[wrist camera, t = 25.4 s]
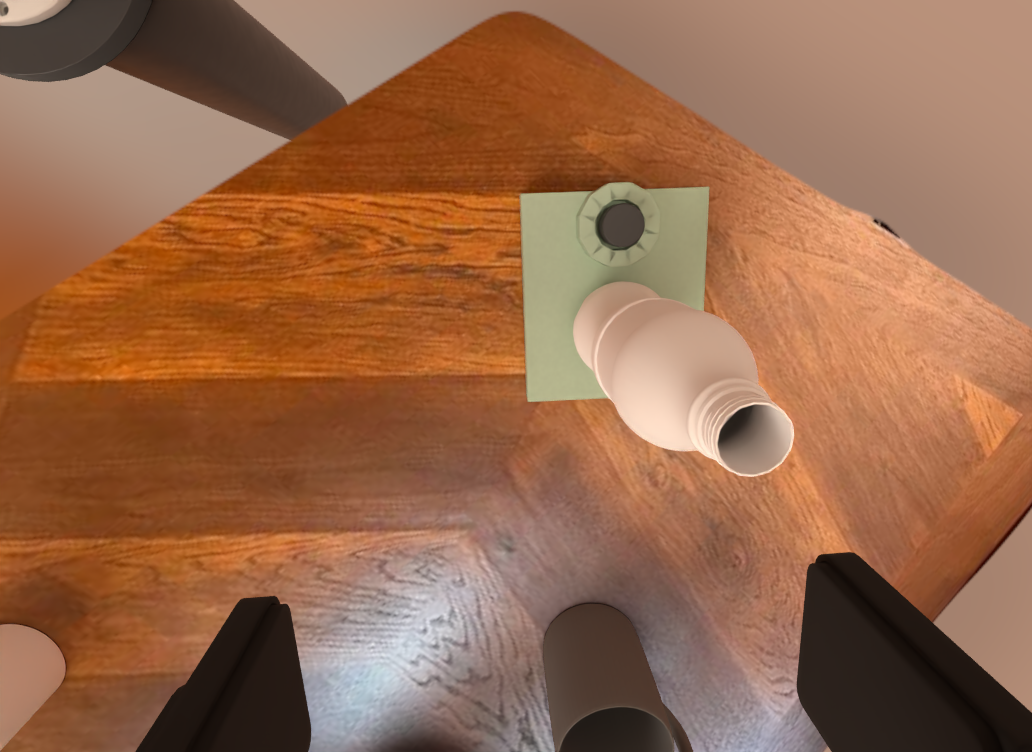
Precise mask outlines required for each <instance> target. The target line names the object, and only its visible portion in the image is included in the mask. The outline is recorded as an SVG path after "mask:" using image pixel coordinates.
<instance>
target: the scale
mask: <svg viewBox="0 0 1032 752" xmlns="http://www.w3.org/2000/svg"><path fill="white" fill-rule="evenodd" d="M621 203H628V204H632V205H634V206H635V207H637V208H638V209H639V210H640V211H641V213H642V215H643V217H644V223H645V225H644V231H643V234H642V236H641V237H640V239H639V240H638V241H637V242H636V243H634V244H633V245H631V246H628V247H617V246H612V245H610V244H608V243H607V242H605V241H604V239H603V238H602V237H601V235H600V232H599V220H600V217H601V215H602V214H603V212H604V211H605V210H606V209H607V208H608V207H610V206H612V205H615V204H621ZM708 206H709V187H686V188H659V189H643V188H641V187H639V186H637V185H636V184H634V183H632V182H616V183H608V184H604V185H603V186H601V187H600V188H598V189H597V190H595V191H578V192H551V193H525V194H520V224H521V254H522V283H523V312H524V342H525V371H526V396H527V401H528V402H537V401H558V400H578V399H599V398H608V397H607V395H606V394H605V393H604V392H603V390H602V388H601V387H600V385H599V383H598V381H597V379H596V377H595V374H594V371H593V370H591V369H590V368H589V367H588V366H587V365H586V364H585V363H584V361H583V360H582V359H581V357H580V355H579V354H578V351H577V349H576V346H575V342H574V337H573V324H574V319H575V317H576V315H577V313H578V311H579V309H580V307H581V305H582V303H583V301H584V300H585V298H586V297H587V296H588V295H589V294H591V293H592V292H593V291H595V290H596V289H598V288H600V287H602V286H604V285H606V284H610V283H613V282H621V281H624V282H634V283H638V284H641V285H644V286H646V287H648V288H650V289H651V290H653V291H654V292H655V293H656V294H658V295H659V297H660V298H666V299H672V300H675V301H679V302H681V303H684V304H686V305H688V306H690V307H692V308H693V309H695V310H700V311H704V293H705V272H706V250H707V228H708Z"/></svg>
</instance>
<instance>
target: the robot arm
mask: <svg viewBox="0 0 1032 752" xmlns="http://www.w3.org/2000/svg"><path fill="white" fill-rule="evenodd" d="M71 1H72V0H0V26H24V25H30V24H35V23H39V22H41V21H43V20H46V19H48V18H50V17H52V16H54V15H56V14H57V13H58V12H60V11H61V10H62V9H64V8H65V7H66V6H67V5H68V4H69V3H70V2H71ZM797 692H798V696H799V699H800V702H801V704H802V706H803V708H804V710H805V711H806V713H807V714H808V716H809V717H810V719H811V721H812V722H813V724H814V725H815V727H816V728H817V730H818V731H819V733H820V734H821V736H822V737H823V739H824V741H825V742H826V744H827V745H828V747H829V748H830V750H831V751H832V752H1032V713H1031V712H1030V711H1029V710H1028V709H1027V708H1026V707H1025V706H1024V705H1022V704H1021V703H1020V702H1019V701H1018V700H1017V699H1016V698H1015V697H1014V696H1013V695H1011V694H1010V693H1009V692H1008V691H1007V690H1006V689H1005V688H1004V687H1003V686H1001V685H1000V684H999V683H998V682H997V681H996V680H995V679H994V678H993V677H992V676H991V675H989V674H988V673H987V672H986V671H985V670H984V669H983V668H982V667H981V666H979V665H978V664H977V663H976V662H975V661H974V660H973V659H972V658H971V657H970V656H968V655H967V654H966V653H965V652H964V651H963V650H962V649H961V648H960V647H958V646H957V645H956V644H955V643H954V642H953V641H952V640H951V639H950V638H949V637H947V636H946V635H945V634H944V633H943V632H942V631H941V630H940V629H939V628H938V627H936V626H935V625H934V624H933V623H932V622H931V621H930V620H929V619H928V618H927V617H925V616H924V615H923V614H922V613H921V612H920V611H919V610H918V609H917V608H916V607H914V606H913V605H912V604H911V603H910V602H909V601H908V600H907V599H906V598H904V597H903V596H902V595H901V594H900V593H899V592H898V591H897V590H896V589H895V588H893V587H892V586H891V585H890V584H889V583H888V582H887V581H886V580H885V579H884V578H882V577H881V576H880V575H879V574H878V573H877V572H876V571H875V570H874V569H873V568H871V567H870V566H869V565H868V564H867V563H866V562H865V561H864V560H863V559H861V558H860V557H859V556H858V555H856V554H855V553H851V552H847V553H834V554H821V555H819V556H818V557H817V559H816V562H815V563H812V564H810V565H809V567H808V570H807V579H806V590H805V601H804V611H803V622H802V633H801V643H800V654H799V665H798V675H797ZM310 741H311V723H310V718H309V712H308V707H307V701H306V695H305V690H304V684H303V679H302V673H301V668H300V662H299V656H298V651H297V645H296V640H295V634H294V629H293V623H292V617H291V612H290V608H289V606H288V605H287V604H280V602H279V600H278V598H277V597H275V596H269V597H255V598H243V599H241V600H240V601H239V602H238V603H237V604H236V606H235V608H234V609H233V611H232V612H231V614H230V615H229V617H228V619H227V620H226V622H225V623H224V625H223V626H222V628H221V630H220V631H219V633H218V634H217V636H216V637H215V639H214V641H213V642H212V644H211V645H210V647H209V648H208V650H207V652H206V653H205V655H204V656H203V658H202V659H201V661H200V663H199V664H198V666H197V667H196V669H195V670H194V672H193V674H192V675H191V677H190V678H189V680H188V681H187V683H186V685H183V686H181V687H180V688H178V689H177V690H176V692H175V693H174V694H173V695H172V696H171V698H170V699H169V701H168V702H167V704H166V706H165V707H164V709H163V710H162V712H161V713H160V715H159V716H158V718H157V719H156V721H155V722H154V724H153V726H152V727H151V729H150V730H149V732H148V733H147V735H146V736H145V738H144V739H143V741H142V742H141V744H140V746H139V747H138V749H137V750H136V752H308V751H309V747H310Z"/></svg>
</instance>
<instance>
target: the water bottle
mask: <svg viewBox="0 0 1032 752" xmlns="http://www.w3.org/2000/svg"><path fill="white" fill-rule="evenodd" d="M573 337H574V342H575V346H576V349H577V351H578V354H579V355H580V357H581V359H582V360H583V361H584V363H585V364H586V365H587V366H588V367H589V368H590V369H591V370H593V371H594V374H595V377H596V379H597V381H598V383H599V385H600V387H601V388H602V390H603V392H604V393H605V394H606V395H607V397H608V398H609V399H610V400H611V401H612V402H614V404H615V407H616V409H617V411H618V413H619V415H620V416H621V418H622V419H623V421H624V422H625V423H626V424H627V425H628V426H629V428H630V429H631V430H632V431H634V432H635V433H636V434H637V435H638V436H640V437H641V438H643V439H644V440H646V441H648V442H650V443H652V444H654V445H656V446H659V447H662V448H665V449H670V450H676V451H696V450H698V451H699V452H700V453H702V454H703V455H705V456H706V457H709V458H711V459H714V460H716V461H717V462H718V463H719V464H721V465H722V466H723V467H724V468H725V469H726V470H728V471H730V472H733V473H735V474H737V475H739V476H751V477H755V476H759V475H762V474H765V473H769V472H771V471H772V470H773V469H775V468H776V467H777V466H779V465H780V464H781V463H783V461H784V460H785V458H786V457H787V455H788V454H789V452H790V451H791V447H792V443H793V438H794V428H793V424H792V422H791V420H790V419H789V417H788V416H787V415H786V413H785V412H784V411H783V410H782V409H781V408H780V407H779V406H778V405H777V404H776V403H774V402H772V401H771V399H770V397H769V395H768V393H767V392H766V391H765V390H764V389H763V388H762V387H761V386H759V385H758V372H757V366H756V362H755V359H754V356H753V353H752V351H751V350H750V348H749V346H748V344H747V343H746V341H745V340H744V338H743V337H742V336H741V335H740V334H739V332H738V331H737V330H736V329H735V328H734V327H732V326H731V325H730V324H728V323H727V322H726V321H724V320H722V319H721V318H719V317H718V316H716V315H713V314H710V313H708V312H705V311H700V310H695V309H693V308H692V307H690V306H688V305H686V304H684V303H681V302H679V301H675V300H672V299H666V298H660V297H659V295H658V294H656V293H655V292H654V291H653V290H651V289H650V288H648V287H646V286H644V285H641V284H638V283H634V282H624V281H621V282H613V283H610V284H606V285H604V286H602V287H600V288H598V289H596V290H595V291H593V292H592V293H591V294H589V295H588V296H587V297H586V298H585V300H584V301H583V303H582V305H581V307H580V309H579V311H578V313H577V315H576V317H575V319H574V324H573Z"/></svg>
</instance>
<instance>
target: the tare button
mask: <svg viewBox="0 0 1032 752" xmlns="http://www.w3.org/2000/svg"><path fill="white" fill-rule="evenodd" d="M644 225H645V223H644V217H643V215H642V213H641V211H640V210H639V209H638V208H637V207H635V206H634V205H632V204H628V203H621V204H615V205H612V206H610V207H608V208H607V209H606V210H605V211H604V212H603V214H602V215H601V217H600V220H599V232H600V235H601V237H602V238H603V239H604V241H605V242H607V243H608V244H610V245H612V246H617V247H628V246H631V245H633V244H634V243H636V242H637V241H638V240H639V239H640V237H641V236H642V234H643V231H644Z"/></svg>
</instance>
